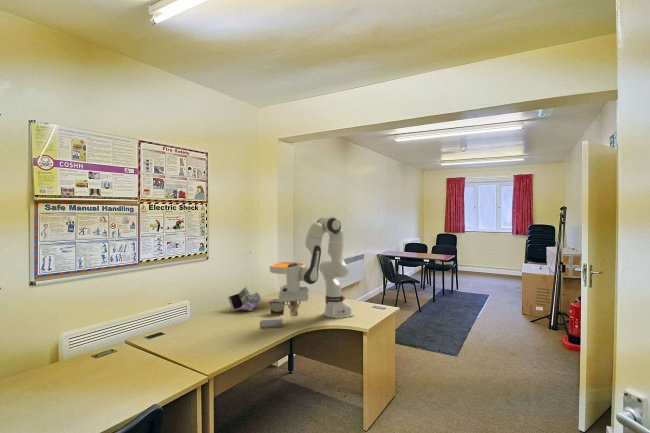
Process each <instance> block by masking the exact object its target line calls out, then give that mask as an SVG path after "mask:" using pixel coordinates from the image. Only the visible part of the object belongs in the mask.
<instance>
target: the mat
mask: <svg viewBox="0 0 650 433" xmlns="http://www.w3.org/2000/svg"><path fill="white" fill-rule="evenodd" d="M260 322H261V323H260V328H261V330H263V329H277V328H278V329H279V328H284V324H283V319H282V318H279V319H278V318H277V319H261V321H260Z"/></svg>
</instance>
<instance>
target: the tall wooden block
mask: <svg viewBox="0 0 650 433" xmlns="http://www.w3.org/2000/svg"><path fill="white" fill-rule="evenodd" d="M298 304H299V302H298V303H297V301H295V302H290V308H289V314H290V317H298V316H299V313H298V312H299V309H298Z"/></svg>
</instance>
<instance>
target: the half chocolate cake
mask: <svg viewBox="0 0 650 433" xmlns="http://www.w3.org/2000/svg"><path fill="white" fill-rule="evenodd" d="M268 304H269V309H270V315H274V316H276V315H277V316H280V315H281V316H284V313H285V302H281V303H280V302H279V298H275V299H271V300H269V302H268Z"/></svg>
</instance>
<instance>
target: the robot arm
mask: <svg viewBox="0 0 650 433" xmlns="http://www.w3.org/2000/svg"><path fill="white" fill-rule="evenodd" d="M325 233H327V234H328V236H329V238H328V244H327V245H328V246H327V254H328V255H329V257H330V259H331V260H324V261H321V256H322V255H321V254H322V247H321V246H322V241H323V236H324V235H325ZM344 237H345V236H344V230H343V229H342V224H341V221H340V220H339V219H338V218H336V217H328V216H327V217H321V218H319V219H317V221H316V222H313V223H311V225H310V227H309V228H308V232H307V235H306V238H305V243H304V244H305V248H306V249H307V250H308V251H309V252H310V255H311V257H310V262H309V267H306V266H305V267H303V266H300V265H298V264H297V263H292V264H289V265H288V266H287V271H286V274H285V275H286V284H285V285H282V286H280V288H279V292H278V299H279V302H280V303H281V302H286V303H287V305H286V306H287V308H288V309H290V305H289V304H288V303H289V302H295V301H299V302H298V308H300V305H301V303H302V302H307V301H308V300H309V294H308V293H309V287H307V286H300V285H301V284H300V282H301V281H302V282H304V283H305V284H306V283H307V284H308V285H313V284H315V283H316V282H317V281H318V279H319V271H320V273H321V275H322V277H323V280H324V283H325V295H324V296H325V301H324V302H325V306H324V307H325V309H324V312H323V315H324V316H325V317H327V318H332V319H341V318H349V317H350V316H351V317H354V316H355V312H354V311H353V310H352V307H351V305H350V304H349V303H348V302H346V301H345V300H346V296H344V295H342V285H341V282H339V280H338V279H343V278H346V277H347V276H348V274H349V272H350V271H349V267H348V264H346V262H345V259H344V243H345V241H344V240H345V238H344ZM320 261H321V263H320ZM351 317H350V318H351Z"/></svg>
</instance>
